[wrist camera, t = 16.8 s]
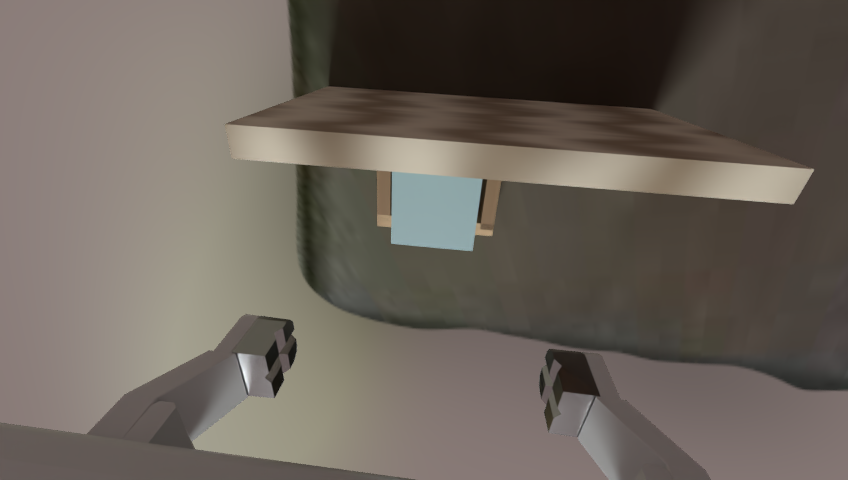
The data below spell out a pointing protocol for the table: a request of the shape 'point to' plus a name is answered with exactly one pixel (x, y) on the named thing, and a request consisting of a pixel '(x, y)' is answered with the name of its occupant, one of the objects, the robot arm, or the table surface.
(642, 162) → the cleat board
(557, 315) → the table surface
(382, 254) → the table surface
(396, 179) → the cabinet block
